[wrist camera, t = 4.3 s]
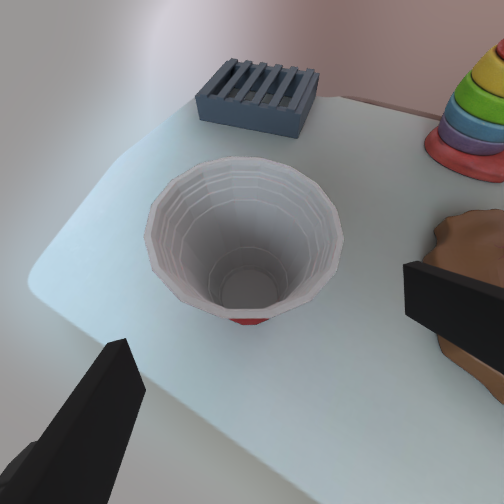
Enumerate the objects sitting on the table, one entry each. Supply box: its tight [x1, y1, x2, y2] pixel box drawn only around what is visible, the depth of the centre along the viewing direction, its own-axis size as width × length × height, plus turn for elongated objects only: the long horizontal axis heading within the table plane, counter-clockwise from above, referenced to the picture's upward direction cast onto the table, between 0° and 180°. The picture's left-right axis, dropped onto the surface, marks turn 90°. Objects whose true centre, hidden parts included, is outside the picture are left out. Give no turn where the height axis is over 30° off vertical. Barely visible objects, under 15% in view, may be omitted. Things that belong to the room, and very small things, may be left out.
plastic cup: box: [144, 156, 344, 325], centre depth 18 cm, size 11×11×12 cm
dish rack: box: [195, 58, 319, 138], centre depth 38 cm, size 16×12×4 cm
